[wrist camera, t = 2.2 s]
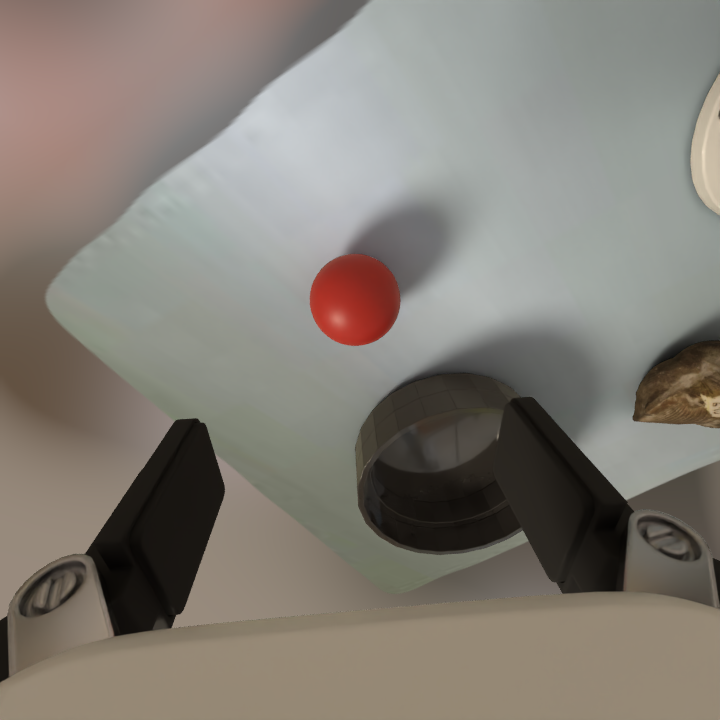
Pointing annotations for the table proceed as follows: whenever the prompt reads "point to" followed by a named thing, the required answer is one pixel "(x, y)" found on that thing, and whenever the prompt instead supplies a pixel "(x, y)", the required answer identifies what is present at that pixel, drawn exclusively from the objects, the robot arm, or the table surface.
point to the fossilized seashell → (683, 388)
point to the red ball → (355, 299)
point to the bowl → (436, 466)
